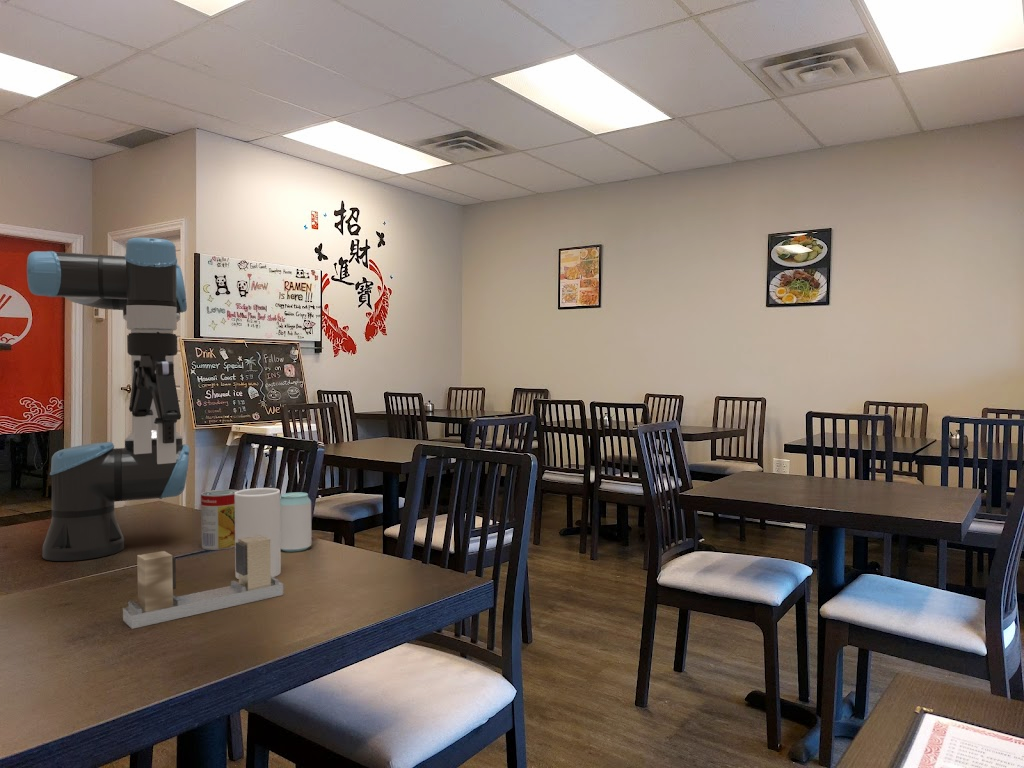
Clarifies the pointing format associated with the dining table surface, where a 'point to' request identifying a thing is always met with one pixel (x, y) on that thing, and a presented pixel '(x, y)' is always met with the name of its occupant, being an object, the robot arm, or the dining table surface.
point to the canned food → (218, 519)
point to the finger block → (156, 580)
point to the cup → (259, 520)
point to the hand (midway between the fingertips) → (154, 458)
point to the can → (295, 521)
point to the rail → (251, 587)
